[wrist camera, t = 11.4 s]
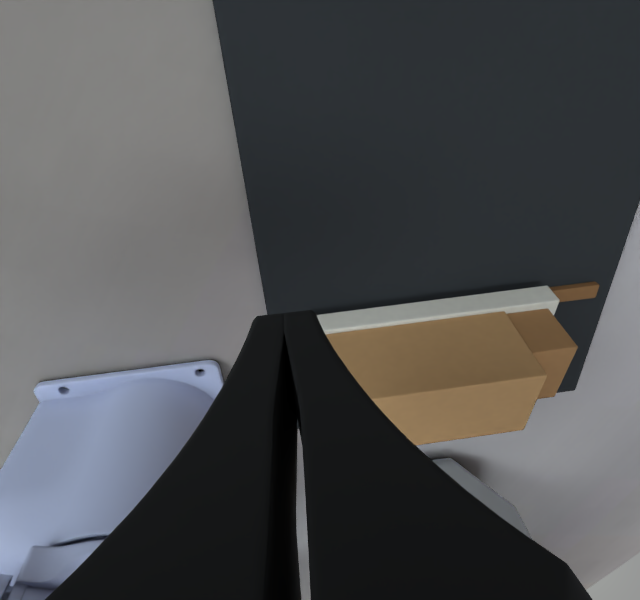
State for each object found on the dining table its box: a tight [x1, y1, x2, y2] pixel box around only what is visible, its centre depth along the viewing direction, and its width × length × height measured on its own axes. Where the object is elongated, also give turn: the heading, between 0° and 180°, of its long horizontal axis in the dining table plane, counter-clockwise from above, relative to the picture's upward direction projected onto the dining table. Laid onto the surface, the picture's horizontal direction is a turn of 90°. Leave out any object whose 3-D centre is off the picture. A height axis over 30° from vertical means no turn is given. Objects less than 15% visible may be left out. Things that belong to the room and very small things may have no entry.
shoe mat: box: [213, 0, 640, 429], centre depth 21 cm, size 18×22×1 cm
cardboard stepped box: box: [317, 286, 578, 445], centre depth 21 cm, size 12×5×4 cm
